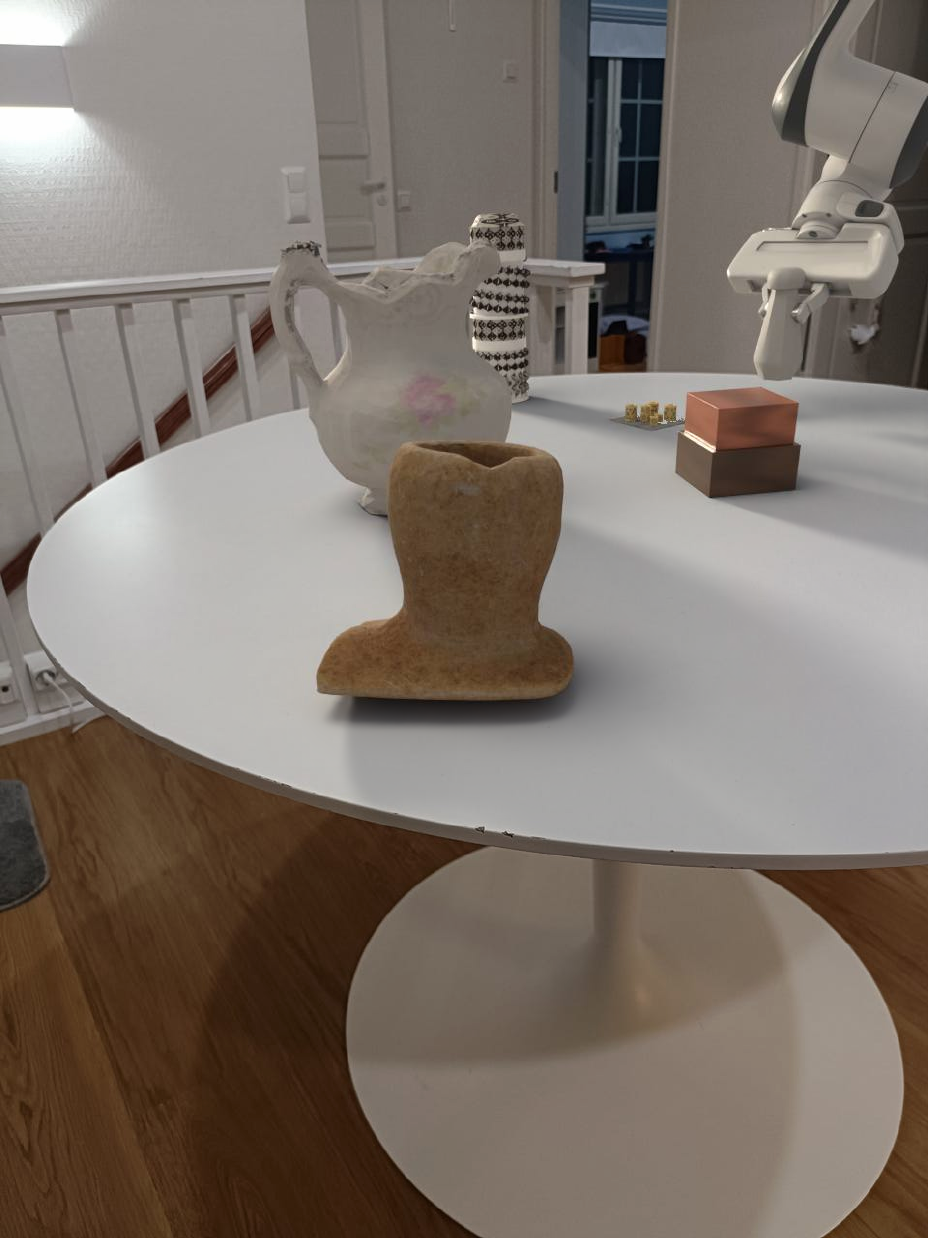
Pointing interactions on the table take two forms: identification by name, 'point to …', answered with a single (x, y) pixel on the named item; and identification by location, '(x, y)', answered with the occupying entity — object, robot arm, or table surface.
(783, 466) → the block stack
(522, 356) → the white patterned cylinder
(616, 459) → the table surface
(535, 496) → the stone cup
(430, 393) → the ceramic pitcher
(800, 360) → the salt shaker
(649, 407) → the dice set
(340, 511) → the table surface
